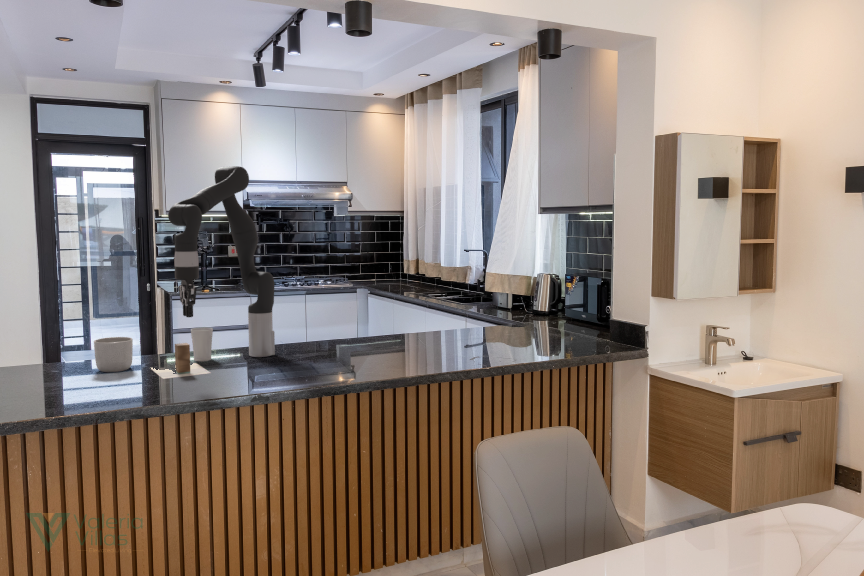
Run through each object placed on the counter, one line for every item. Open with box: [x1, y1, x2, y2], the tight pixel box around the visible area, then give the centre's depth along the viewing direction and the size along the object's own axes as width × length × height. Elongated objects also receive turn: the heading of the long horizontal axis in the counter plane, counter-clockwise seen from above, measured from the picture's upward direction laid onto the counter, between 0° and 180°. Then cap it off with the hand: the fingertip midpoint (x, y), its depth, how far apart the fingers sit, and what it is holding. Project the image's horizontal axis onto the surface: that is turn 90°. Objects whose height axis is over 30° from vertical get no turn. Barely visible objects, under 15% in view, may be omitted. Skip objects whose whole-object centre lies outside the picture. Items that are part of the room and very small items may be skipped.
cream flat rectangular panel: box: [150, 362, 211, 380], centre depth 236 cm, size 16×20×1 cm
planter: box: [93, 336, 134, 373], centre depth 236 cm, size 12×12×11 cm
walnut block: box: [174, 342, 191, 374], centre depth 232 cm, size 4×4×10 cm
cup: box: [190, 326, 214, 362], centre depth 254 cm, size 8×8×12 cm
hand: (188, 316), depth 223 cm, fingers open, 3 cm apart
